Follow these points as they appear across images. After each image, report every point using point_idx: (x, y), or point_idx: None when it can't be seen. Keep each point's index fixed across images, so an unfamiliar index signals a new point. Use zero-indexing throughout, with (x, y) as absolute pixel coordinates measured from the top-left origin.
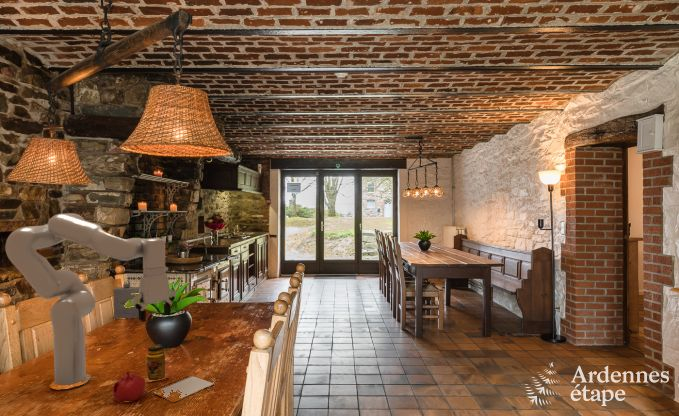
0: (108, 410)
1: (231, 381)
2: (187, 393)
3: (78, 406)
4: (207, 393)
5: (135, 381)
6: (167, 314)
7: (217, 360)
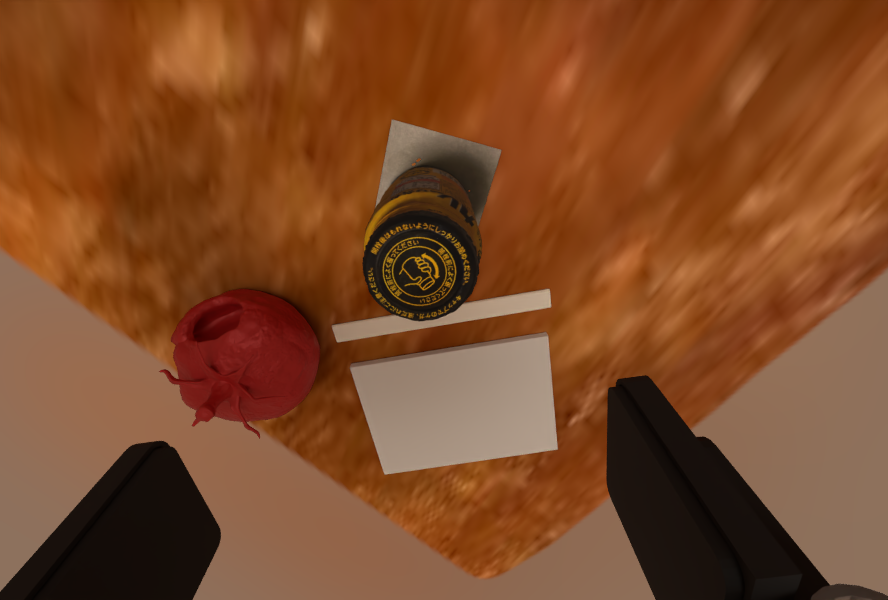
0: None
1: None
2: (445, 454)
3: (64, 259)
4: (500, 477)
5: (253, 417)
6: (612, 478)
7: (773, 216)
